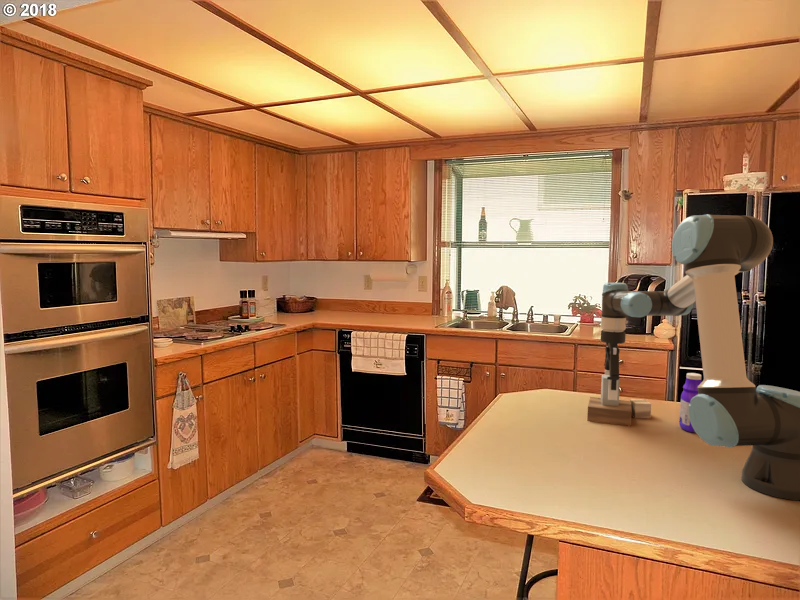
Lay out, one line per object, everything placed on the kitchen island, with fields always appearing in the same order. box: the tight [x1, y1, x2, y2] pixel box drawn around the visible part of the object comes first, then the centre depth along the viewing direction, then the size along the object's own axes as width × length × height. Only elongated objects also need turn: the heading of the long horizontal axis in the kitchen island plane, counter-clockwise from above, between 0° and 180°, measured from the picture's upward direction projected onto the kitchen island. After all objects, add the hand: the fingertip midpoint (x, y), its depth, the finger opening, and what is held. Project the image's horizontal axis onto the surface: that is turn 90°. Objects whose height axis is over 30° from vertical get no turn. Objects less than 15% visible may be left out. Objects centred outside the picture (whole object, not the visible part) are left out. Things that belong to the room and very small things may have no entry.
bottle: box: [678, 372, 702, 433], centre depth 170 cm, size 7×6×17 cm
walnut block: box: [587, 396, 632, 426], centre depth 182 cm, size 13×13×5 cm
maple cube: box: [629, 398, 652, 419], centre depth 184 cm, size 5×5×5 cm
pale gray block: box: [600, 374, 621, 406], centre depth 182 cm, size 5×5×9 cm
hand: (610, 394), depth 182 cm, fingers open, 13 cm apart
